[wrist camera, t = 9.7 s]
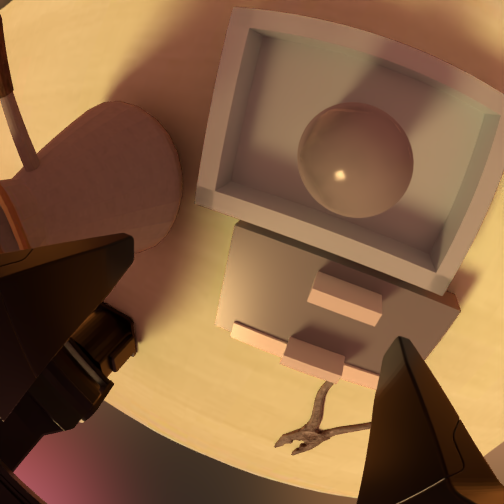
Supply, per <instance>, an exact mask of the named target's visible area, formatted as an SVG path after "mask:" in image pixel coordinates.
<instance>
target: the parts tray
mask: <svg viewBox="0 0 504 504" xmlns="http://www.w3.org/2000/svg"><path fill="white" fill-rule="evenodd" d="M347 102H358V103H365V104H369V105H372V106H375V107H377V108H379V109H381V110H383V111H384V112H386V113H388V114H389V115H390V116H391V117H393V118H394V119H395V120H396V121H397V122H398V123H399V124H400V126H401V127H402V129H403V130H404V131H405V133H406V135H407V137H408V139H409V142H410V144H411V147H412V152H413V159H414V167H413V174H412V178H411V182H410V184H409V186H408V189H407V190H406V192H405V194H404V195H403V197H402V198H401V199H400V200H399V201H398V202H397V203H396V204H395V205H394V206H393V207H391V208H390V209H388V210H387V211H385V212H383V213H380V214H378V215H375V216H371V217H365V218H352V217H346V216H342V215H339V214H336V213H334V212H332V211H330V210H328V209H326V208H325V207H323V206H322V205H321V204H320V203H318V202H317V201H316V200H315V199H314V198H313V197H312V195H311V194H310V193H309V192H308V190H307V189H306V187H305V185H304V183H303V181H302V179H301V176H300V173H299V169H298V161H297V153H298V146H299V141H300V138H301V136H302V133H303V132H304V130H305V128H306V126H307V125H308V124H309V122H310V121H311V120H312V119H313V118H314V117H315V116H316V115H317V114H319V113H320V112H321V111H323V110H325V109H326V108H329V107H331V106H333V105H337V104H341V103H347ZM503 171H504V94H503V93H501V92H500V91H498V90H496V89H495V88H493V87H491V86H490V85H488V84H486V83H485V82H483V81H481V80H480V79H478V78H476V77H474V76H472V75H471V74H469V73H467V72H465V71H463V70H461V69H459V68H457V67H455V66H453V65H451V64H449V63H447V62H445V61H443V60H441V59H439V58H436V57H434V56H432V55H430V54H427V53H425V52H423V51H420V50H418V49H416V48H413V47H411V46H408V45H405V44H403V43H400V42H398V41H395V40H392V39H389V38H386V37H383V36H380V35H377V34H374V33H371V32H368V31H365V30H361V29H358V28H354V27H351V26H347V25H343V24H339V23H335V22H331V21H327V20H322V19H318V18H313V17H308V16H303V15H297V14H291V13H285V12H279V11H271V10H263V9H254V8H243V7H233V9H232V13H231V17H230V21H229V25H228V29H227V33H226V37H225V41H224V45H223V50H222V54H221V59H220V63H219V68H218V72H217V77H216V82H215V86H214V91H213V96H212V101H211V106H210V112H209V117H208V122H207V128H206V133H205V139H204V145H203V150H202V156H201V163H200V169H199V175H198V182H197V188H196V195H195V202H194V204H197V205H200V206H203V207H206V208H208V209H211V210H214V211H217V212H220V213H223V214H226V215H229V216H231V217H234V218H237V219H240V220H243V221H246V222H248V223H251V224H254V225H257V226H260V227H263V228H265V229H268V230H271V231H274V232H276V233H279V234H282V235H285V236H287V237H290V238H293V239H296V240H298V241H301V242H304V243H307V244H309V245H312V246H315V247H317V248H320V249H323V250H325V251H328V252H331V253H333V254H336V255H339V256H341V257H344V258H347V259H349V260H352V261H354V262H357V263H360V264H362V265H365V266H367V267H370V268H373V269H375V270H378V271H380V272H383V273H386V274H388V275H391V276H393V277H396V278H398V279H401V280H403V281H406V282H408V283H411V284H413V285H416V286H418V287H421V288H423V289H426V290H428V291H431V292H433V293H436V294H438V295H441V296H443V294H444V293H445V291H446V290H447V288H448V286H449V285H450V283H451V281H452V279H453V278H454V276H455V274H456V272H457V271H458V269H459V267H460V265H461V263H462V262H463V260H464V258H465V256H466V254H467V252H468V250H469V248H470V247H471V245H472V243H473V241H474V239H475V237H476V235H477V232H478V230H479V228H480V226H481V224H482V222H483V220H484V218H485V215H486V213H487V211H488V209H489V206H490V204H491V202H492V199H493V197H494V194H495V192H496V189H497V187H498V184H499V182H500V179H501V176H502V174H503Z"/></svg>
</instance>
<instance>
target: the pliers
mask: <svg viewBox="0 0 504 504" xmlns="http://www.w3.org/2000/svg"><path fill="white" fill-rule="evenodd" d="M333 384H334V383H332V382H329V381H326V382H325V383H324V384H323V385H322V386H321V388H320V389H319V391H318V393H317V395H316V398H315V402H314V407H313V412H312V416H311V418H310V420H309V422H308V423H307V424H305V425H304V426H303V427H302V428H300V429H297V430H294V431H292V432H289V433H286V434H283V435H282V436H281V438H280V439H279V440H278V441H277V442H276V444H275V446H274V447H275V448H276V447H280V446H283V445H284V444H286V443H292V442H293V440H299V441H300V440H302V441H304V443H305V444H302V443H301V444H300V447H299V448H296V449H295V450H294V451H293V452H292V454H291V455H295V454H299V453H302V452H305V451H307V450H310V449H312V448H314V447H316V446H318V445H319V444H320V443H321V442H323V441H325V440H328V439H330V437H332V436H334V435H338V434H343V433H348V432H354V431H360V430H365V429H371V422H369V423H364V424H357V425H350V426H343V427H337V428H332V429H327V430H323V431H319V430H317V427H318V425H319V423H320V421H321V417H322V408H323V401H324V397H325V395H326V393H327V391H328V390H329V388H330V387H331V386H332V385H333Z"/></svg>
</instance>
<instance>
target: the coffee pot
mask: <svg viewBox="0 0 504 504" xmlns="http://www.w3.org/2000/svg"><path fill="white" fill-rule="evenodd" d="M13 90H14V89H13V84H12V80H11V75H10V70H9V65H8V59H7V53H6V47H5V40H4V33H3V24H2V18H1V15H0V101H1V104H2V107H3V111H4V114H5V117H6V120H7V123H8V126H9V129H10V132H11V135H12V137H13V140H14V143H15V146H16V148H17V151H18V153H19V156H20V158H21V161H22V163H23V166H24V167H23V168H22V169H21V170H20V171H19V172H18V173H17V174H16V175H15V176H14V177H13V178H12V179H7V180H0V253H7V252H14V251H19V250H25V249H30V248H33V249H34V248H36V247H41V246H46V245H52V244H58V243H63V242H69V241H75V240H81V239H86V238H92V237H99V236H105V235H111V234H117V233H126V234H128V235H131V236H133V238H134V253H139V252H142V251H144V250H147V249H150V248H152V247H155V246H156V245H157V244H158V243H159V242H160V241H161V240H162V239H163V238H164V237H165V236H166V235H167V234H168V232H169V230H170V229H171V227H172V225H173V223H174V221H175V219H176V217H177V214H178V210H179V206H180V202H181V198H182V170H181V166H180V161H179V157H178V153H177V151H176V149H175V147H174V144H173V142H172V140H171V138H170V136H169V134H168V133H167V132H166V130H165V129H164V128H163V127H162V125H161V124H160V123H159V122H158V120H156V119H155V118H154V117H152V116H151V115H149V114H148V113H147V112H145V111H144V110H142V109H141V108H139V107H138V106H135V105H132V104H128V103H125V102H121V101H114V102H104V103H101V104H99V105H97V106H95V107H93V108H91V109H89V110H88V111H86V112H85V113H84V114H82V115H81V116H80V117H79V118H77V119H76V120H75V121H74V122H72V123H71V124H70V125H69V126H68V127H66V128H65V129H64V130H63V131H62V132H60V133H59V134H58V135H57V136H56V137H55V138H53V139H52V140H51V141H50V142H49V143H48V144H47V145H46V146H45V147H44V148H42V149H41V150H40V151H39V152H38V153H37V154H36V152H35V149H34V147H33V144H32V142H31V140H30V137H29V135H28V132H27V130H26V127H25V124H24V122H23V119H22V116H21V114H20V111H19V108H18V105H17V102H16V100H15V97H14V94H13Z"/></svg>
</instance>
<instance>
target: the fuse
mask: <svg viewBox="0 0 504 504" xmlns="http://www.w3.org/2000/svg"><path fill="white" fill-rule="evenodd" d="M297 161H298V169H299V173H300V176H301V179H302V181H303V183H304V185H305V187H306V189H307V190H308V192H309V193H310V194H311V195H312V197H313V198H314V199H315V200H316V201H317V202H318V203H320V204H321V205H322V206H323V207H325V208H326V209H328V210H330V211H332V212H334V213H336V214H339V215H342V216H346V217H352V218H365V217H371V216H375V215H378V214H380V213H383V212H385V211H387V210H388V209H390V208H391V207H393V206H394V205H395V204H396V203H397V202H398V201H399V200H400V199H401V198H402V197H403V195H404V194H405V192H406V190H407V189H408V186H409V184H410V182H411V178H412V174H413V167H414V159H413V152H412V147H411V144H410V142H409V139H408V137H407V135H406V133H405V131H404V130H403V129H402V127H401V126H400V124H399V123H398V122H397V121H396V120H395V119H394V118H393V117H391V116H390V115H389V114H388V113H386V112H384V111H383V110H381V109H379V108H377V107H375V106H372V105H369V104H365V103H358V102H347V103H341V104H337V105H333V106H331V107H329V108H326V109H325V110H323V111H321V112H320V113H319V114H317V115H316V116H315V117H314V118H313V119H312V120H311V121H310V122H309V124H308V125H307V126H306V128H305V130H304V132H303V133H302V136H301V138H300V141H299V146H298V153H297Z"/></svg>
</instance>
